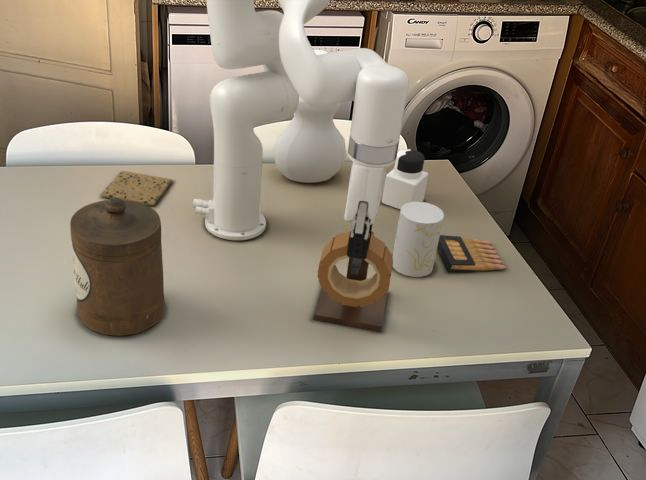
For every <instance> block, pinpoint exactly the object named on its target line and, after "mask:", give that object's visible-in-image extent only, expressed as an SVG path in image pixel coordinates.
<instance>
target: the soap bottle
mask: <svg viewBox="0 0 646 480" xmlns="http://www.w3.org/2000/svg"><path fill="white" fill-rule="evenodd" d="M313 50H314V52H315V53H316V55H322V54H327V53H329V52H328V51H326V50H324V49H313ZM341 105H342V103H338V104H333V105H329V106H323V107H315V106H311V105H309V104H308V103H306V102H305V101H304V100H303V99H302V98H301V97H300V96H299V105H298V108H297V110H296V112H295V113H294V114H293V117H292V119H291V120H290V122H289V123H288V124H287V125H286V126H285V128H283V130H281V131H280V133H279V134H278V135H277V136H276V140H275V143H274V146H273V149H272V153H273V159H274V163H275V166H276V168H277V169H278V170H279V171H280V173H281V174H282V175H283V176H284V177H285V178H286V179H288V180H290V181H293V182H297V183H298V182H299V183H307V184H309V183H311V184H312V183H321V182H326V181H329V180H330V179H331V178H333V176H335V175H336V174H337V173H338V172H339V171H340V170H341V169H343V168H342V167H343V165H344V163H345V160H346V158H347V147H346V138H345V137H344V136H343V135H342V133H341V132H340V131H339V129H338V128H337V126H336V125H335V122H334V116H335V114H336V113H337V112H338V111H339V110H340V109H341Z"/></svg>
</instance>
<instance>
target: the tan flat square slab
mask: <svg viewBox="0 0 646 480" xmlns="http://www.w3.org/2000/svg"><path fill="white" fill-rule="evenodd" d="M171 183H173V179H171V178H166V177H165V178H164V177H160V176H154V175H148V174H142V173H136V172H131V171H125V170H122V171H121V172H119V174H118V175H117V176H116V178H114V180H113V181H112V182H111V183H110V185H109V186H107V187H106V188H105V190H104V192H102V194H101V197H102V198H106V199H111V198H114V197H116V198H119V199H122V200H130V201H135V202H139V203H142V204H145V205H147V206H149V207H154V206H156V204H157V202H158V201H159V199H160V198H161V197H162V196H163V194H164V193H165V192H166V191H167V189H168V188H169V186H170V185H171Z"/></svg>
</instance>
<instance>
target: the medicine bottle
mask: <svg viewBox="0 0 646 480" xmlns="http://www.w3.org/2000/svg"><path fill="white" fill-rule="evenodd" d="M424 163H425V156H424V154H423V153H422V152H420V151H418V150H416V149H411V148H410V149H409V148H408V149H401V150H398V152H397V158H396V162H395V163H394V168H393V169H391V171H389V172H388V173H386V176H385V181H384V187H383V192H382V197H381V203H382V204H383V205H386V206H389V207H392V208H395V209H398V210H401V207H402V206H403V205H404V204H406V203H409V202H424V200H425V194H426V189H427V185H428V184H427V183H428V180H429V179H428V178H429V172H426V171H424V170H423V169H424Z"/></svg>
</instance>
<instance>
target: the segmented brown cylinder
mask: <svg viewBox="0 0 646 480" xmlns="http://www.w3.org/2000/svg"><path fill="white" fill-rule="evenodd" d="M350 234H351V230H349V231H346V232H343V233H340V234H336V235H335V236H333V237H332V238H331V239H330V240H329V241H328V243H326V244H325V246H324V247H323V249H322V251H321V256H320V259H319V262H318V269H317V281H318V283H319V285H320V287H321V288H322V289H323V291H324V293H326V292H327V293H326V295H328V296H329V297H330V298H332V299H333V300H335V301H336V302H338V303H340V302H341V301H342V303H341V304H342V305H348V306H353V307H358V304H359V306H360V307H362V306H366V305H369V304H373V303H375V301H378V300H379V299H380V298H381V297H382V296H383V295H384V294H386V293H387V294H388V292H389V290H390V285H391V279H392V271H393V258H392V256H393V255H392V254H391V251H390V249H389V246H388V245H387V244H386V243H385V242H384V241H382V240H381V239H379V238H378V237H377V236H375V234H374V235H373V234H372V235H371V236H370V233H368V237H369V236H370V238H369V244H368V251H367V257H366V259H364V260H365V261H367V262H368V263H369V265H370V266H372V267H373V271H374V272H375V273H374V274H373V275H372V276H371V277H370V278H367V279H366V280H362V281H357V280H351V279H348V278H346V276H345V275H343V274H342V273H341V272H340V271H339V269H338V267H337V265H336V264H337V263H338V262H339V261H341V260H344V259H349V257H348V256H347V249H348V242H349V235H350ZM387 291H388V292H387Z"/></svg>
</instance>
